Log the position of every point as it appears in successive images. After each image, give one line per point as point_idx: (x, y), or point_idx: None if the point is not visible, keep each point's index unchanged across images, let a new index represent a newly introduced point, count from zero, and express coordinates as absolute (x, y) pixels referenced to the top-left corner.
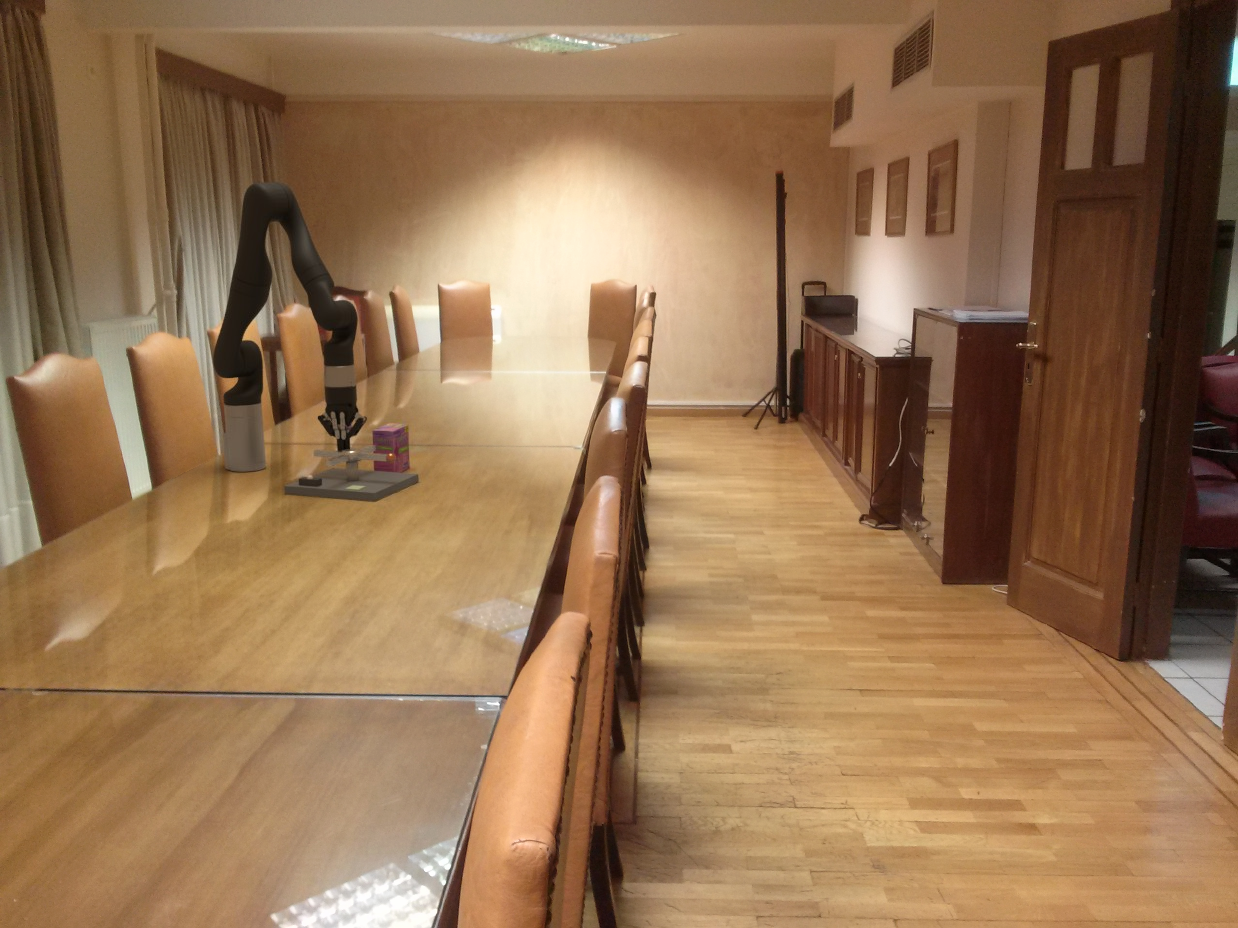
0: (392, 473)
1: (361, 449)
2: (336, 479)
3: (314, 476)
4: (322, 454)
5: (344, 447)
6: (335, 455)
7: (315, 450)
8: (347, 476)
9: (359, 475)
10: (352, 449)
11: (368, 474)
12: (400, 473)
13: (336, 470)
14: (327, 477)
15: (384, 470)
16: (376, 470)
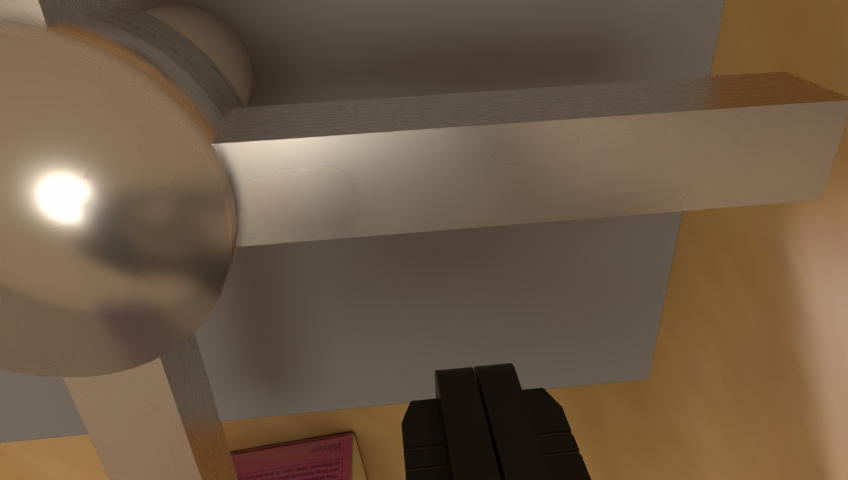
0: (66, 402)
1: (121, 446)
2: (364, 18)
3: (666, 57)
4: (637, 92)
5: (446, 443)
6: (372, 112)
7: (818, 121)
8: (193, 18)
9: (268, 250)
10: (97, 311)
11: (221, 307)
12: (6, 423)
13: (579, 325)
14: (513, 69)
15: (267, 476)
16: (330, 463)
